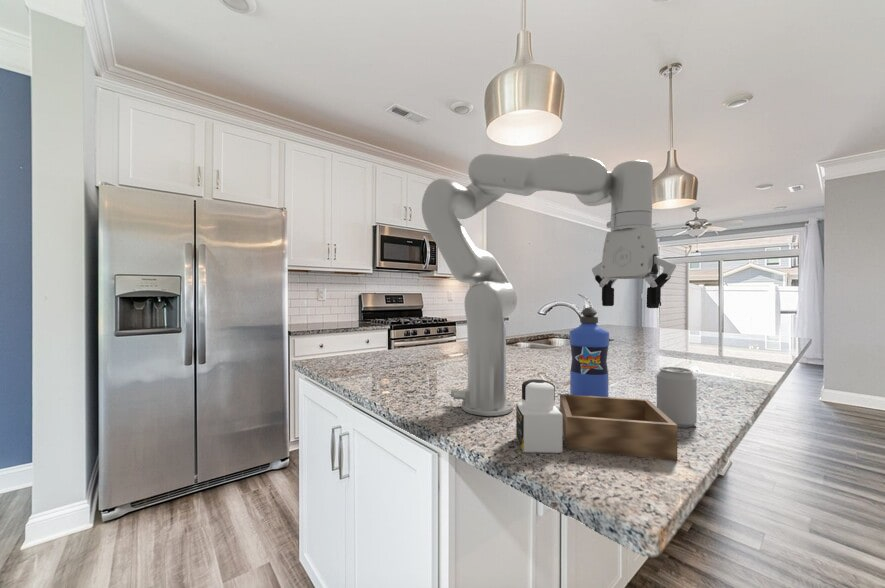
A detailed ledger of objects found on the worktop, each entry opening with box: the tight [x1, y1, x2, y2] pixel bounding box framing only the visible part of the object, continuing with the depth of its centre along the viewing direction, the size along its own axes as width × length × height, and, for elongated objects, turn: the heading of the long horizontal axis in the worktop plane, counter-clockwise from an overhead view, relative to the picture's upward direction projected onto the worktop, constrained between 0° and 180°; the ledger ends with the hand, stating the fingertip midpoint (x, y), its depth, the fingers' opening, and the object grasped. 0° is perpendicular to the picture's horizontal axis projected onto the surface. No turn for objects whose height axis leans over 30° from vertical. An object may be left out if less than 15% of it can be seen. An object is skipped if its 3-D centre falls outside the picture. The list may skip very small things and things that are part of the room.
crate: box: [559, 393, 678, 461], centre depth 73 cm, size 18×16×6 cm
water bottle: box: [569, 307, 610, 397], centre depth 93 cm, size 9×9×25 cm
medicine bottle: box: [515, 378, 563, 454], centre depth 69 cm, size 7×7×12 cm
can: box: [656, 366, 698, 428], centre depth 82 cm, size 8×8×12 cm
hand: (629, 306), depth 76 cm, fingers open, 9 cm apart
